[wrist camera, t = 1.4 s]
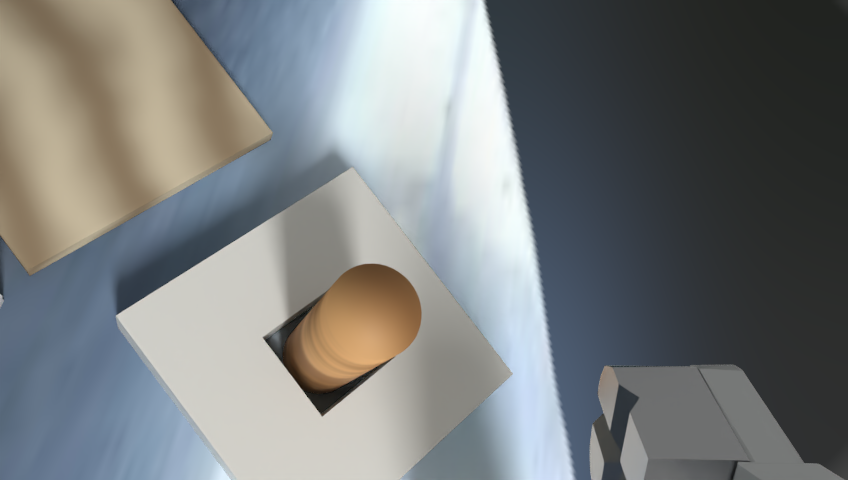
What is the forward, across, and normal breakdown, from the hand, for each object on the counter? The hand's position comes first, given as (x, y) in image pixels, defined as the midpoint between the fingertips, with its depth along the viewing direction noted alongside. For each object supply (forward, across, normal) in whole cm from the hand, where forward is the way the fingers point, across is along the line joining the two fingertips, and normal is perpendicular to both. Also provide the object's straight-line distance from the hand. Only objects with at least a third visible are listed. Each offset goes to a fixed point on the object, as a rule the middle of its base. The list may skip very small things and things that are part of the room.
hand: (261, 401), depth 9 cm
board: (+35, +18, +6) cm, 40 cm away
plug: (+28, +4, +20) cm, 35 cm away
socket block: (+28, +4, +20) cm, 35 cm away
